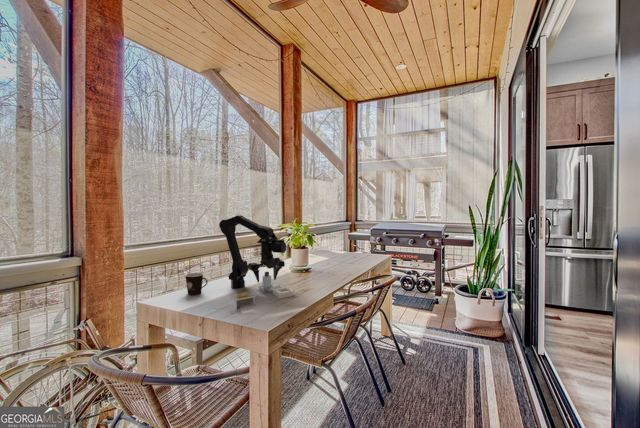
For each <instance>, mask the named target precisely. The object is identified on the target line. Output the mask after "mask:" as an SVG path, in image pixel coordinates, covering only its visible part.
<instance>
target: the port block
mask: <svg viewBox="0 0 640 428" xmlns="http://www.w3.org/2000/svg"><path fill="white" fill-rule="evenodd" d="M273 294H274V295H275V296H277V297H278V298H284V297H289V296H294V294H295V290H293V289H291V288H290V287H287V286H286V287H282V288H278V289H273Z"/></svg>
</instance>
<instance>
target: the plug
mask: <svg viewBox="0 0 640 428" xmlns="http://www.w3.org/2000/svg"><path fill="white" fill-rule="evenodd" d="M262 285H263V287H264V288H267V287H271V285H272V275H270V272H269V271H264V275H262Z"/></svg>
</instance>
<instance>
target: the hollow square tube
mask: <svg viewBox="0 0 640 428" xmlns="http://www.w3.org/2000/svg"><path fill="white" fill-rule="evenodd" d="M275 287H276V286H274V285H273V284H271V287H267V288H264V287H263V284H262V285H261V284H260V285H259V286H258V289H259V291H261V292H262V293H269V292H273V289H275Z"/></svg>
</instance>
